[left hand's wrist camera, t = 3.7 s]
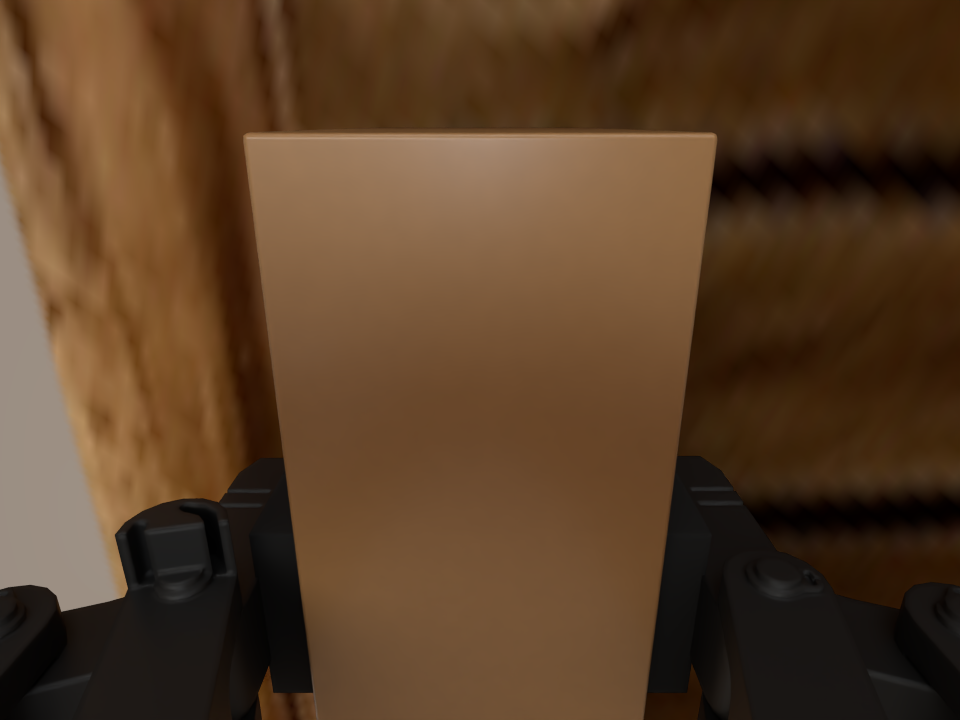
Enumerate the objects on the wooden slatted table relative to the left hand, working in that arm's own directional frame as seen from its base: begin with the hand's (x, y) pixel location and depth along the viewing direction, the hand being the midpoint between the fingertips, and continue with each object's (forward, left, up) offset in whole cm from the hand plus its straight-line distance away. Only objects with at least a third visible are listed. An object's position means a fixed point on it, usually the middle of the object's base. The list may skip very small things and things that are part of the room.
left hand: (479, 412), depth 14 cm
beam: (+2, +23, -1) cm, 23 cm away
